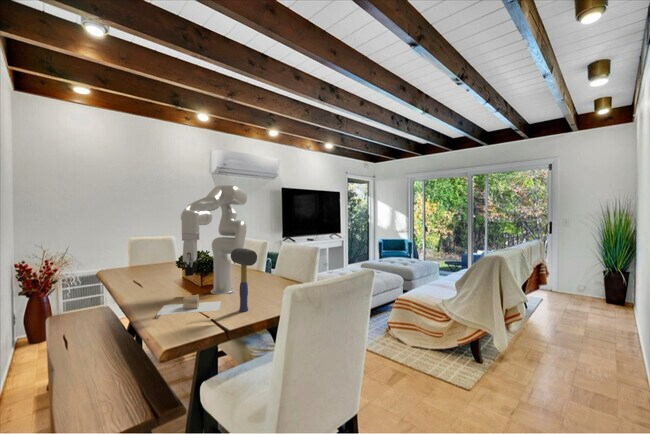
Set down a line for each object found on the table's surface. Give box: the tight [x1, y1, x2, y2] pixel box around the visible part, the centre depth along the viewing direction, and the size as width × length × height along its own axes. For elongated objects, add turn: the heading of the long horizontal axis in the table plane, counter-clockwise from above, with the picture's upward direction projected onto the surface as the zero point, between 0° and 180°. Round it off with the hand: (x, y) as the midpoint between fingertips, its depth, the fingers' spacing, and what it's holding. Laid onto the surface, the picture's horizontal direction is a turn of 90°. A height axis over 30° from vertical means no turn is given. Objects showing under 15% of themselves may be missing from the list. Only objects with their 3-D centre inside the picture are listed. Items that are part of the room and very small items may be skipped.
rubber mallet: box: [230, 247, 258, 313], centre depth 138 cm, size 12×8×30 cm, turn 48°
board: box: [155, 300, 222, 319], centre depth 142 cm, size 14×26×2 cm, turn 105°
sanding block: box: [182, 294, 200, 310], centre depth 142 cm, size 5×6×5 cm
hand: (191, 273), depth 142 cm, fingers open, 9 cm apart
